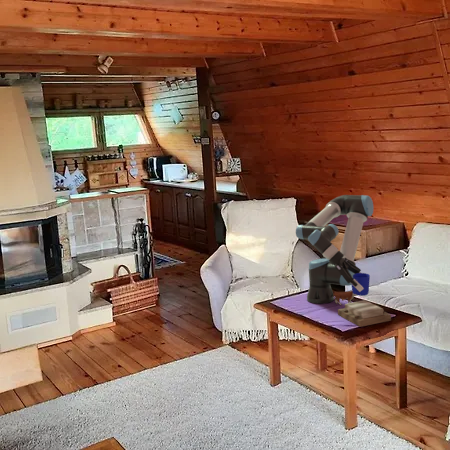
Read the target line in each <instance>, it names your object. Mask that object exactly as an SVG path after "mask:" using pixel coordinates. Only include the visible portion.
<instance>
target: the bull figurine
mask: <svg viewBox="0 0 450 450" xmlns="http://www.w3.org/2000/svg"><path fill="white" fill-rule="evenodd" d="M333 296H334V302H335V304H336V305H337V304H339V305H340V306H342V305H343V304H342V302H341V301H344V300H347V304H348V303H353V301H352V300H353V299H354V298H355V297H357V296H359V295H356V294H353V292H352V289H350V290H346V291H334V292H333ZM340 300H341V301H340Z"/></svg>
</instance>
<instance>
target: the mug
mask: <svg viewBox="0 0 450 450" xmlns="http://www.w3.org/2000/svg"><path fill="white" fill-rule="evenodd" d="M370 277H371V276H370V274H369V273H365V272H361V273H356V274H354V275H353V279H355V280H356V281H357V282H358V283H359V284H360V285H361V286H362V287H363V288H364V289H363V290H362V291H361V292H359V291H358V290H357V289H356V288H355V287H354V286H353V285H352V284H351V285H350V286H351V290H352V292H353V294H356V295H358V296H360V297H362V296H365V297H366V296H368V295H369V293H370V291H369V290H370Z"/></svg>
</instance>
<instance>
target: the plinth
mask: <svg viewBox="0 0 450 450" xmlns="http://www.w3.org/2000/svg"><path fill="white" fill-rule="evenodd" d="M337 312H338V313H337V316H339V317H341V318H343V319H345V320H347V321H349V322H350V323H352V324H354V325H356V326H358V327H360V328H362V327H366V326H371V325H375V324H380V323H385V322H389V321H392V317H391V315H392V314H391V313H388V312H387V311H385V310H384V308H382V307H380V306H379V305H376V304H374V303H371V302H370V301H367V300H365V299H363V300H359V301H354V302H353V301H352V303H350V302H349V303H348V302H347V303H345V304H344V308H339V309H337Z"/></svg>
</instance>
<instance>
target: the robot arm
mask: <svg viewBox="0 0 450 450" xmlns="http://www.w3.org/2000/svg"><path fill="white" fill-rule="evenodd" d="M373 214H374V202H373V199H372V198H371V196H369V195H365V194H361V195H360V194H359V195H358V194H357V195H356V194H342V195H339V196H337V197H334V198H333V199H331V200H330V201H329V202H328V203H326V205H325V207H324V208H323V209H322V210H321V211H320V212H318V213H317V214H316V215H314V217H313V218H311V219H310V220H309V221H308V222H307V223H306V224H298V225H297V226H296V229H295V236H296V237H297V239H299V240H307V241H308V242H309V243H310V244H311V246H313V248H315V249H316V250H317V251H318V252H319V253H320V254H322V256H323V258H318V259H313V260H311V261H309V263H308V278H309V280H308V281H309V283H308V284H309V288H308V291H307V294H306V301H307V302H309V303H312V304H318V305H319V304H320V305H321V304H328V303H332V302H334V301H335V298H334V297H335V296H333V294H334V292H333V289H332V287H331V285H338V286H339V285H340V286H347V287H348V286H349V287H350V286H352V285H353V286H354V287H355V288H356V289H357V290H358V291H359V292H361V291H362V290H363V289H364V288H363V287H362V286H361V285H360V284H359V283H358V282H357V281H356V280H355V279H353V275H354V274H356V273H362V272H361V271H362V270H361V268H359V267H358V266H357V265H356V261H355V257H356V254H357V250H358V245H359V241H360V237H361V233H362V231H363V230H362V229H363V227H364V226H363V225H364V223H365V222H367V221H368V218H369V217H372V215H373ZM342 215H343V216H344V215H345V216H346V217H347V218H348V219H347V223H346V226H345V231H344V234H343V238H342V242H341V246H340V249H338V247H336V246H335V245H334V244H333V243H332V242H333V240H334V239H336V238H337V236H338V235H339V228H338V226H337V225H336V224H333V223H330V222H331V221H332V220H333V219H335V218H338V217H339V216H342ZM351 284H352V285H351Z"/></svg>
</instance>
